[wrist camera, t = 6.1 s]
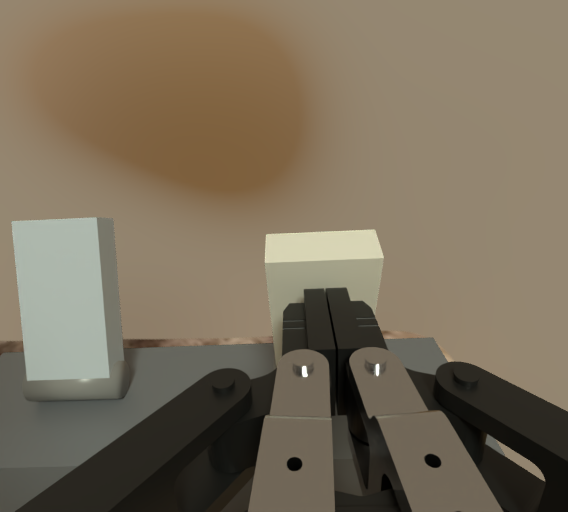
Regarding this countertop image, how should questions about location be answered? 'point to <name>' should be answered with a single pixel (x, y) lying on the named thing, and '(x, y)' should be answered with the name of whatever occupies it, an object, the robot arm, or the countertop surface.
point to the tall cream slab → (320, 270)
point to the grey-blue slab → (70, 309)
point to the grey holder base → (146, 413)
